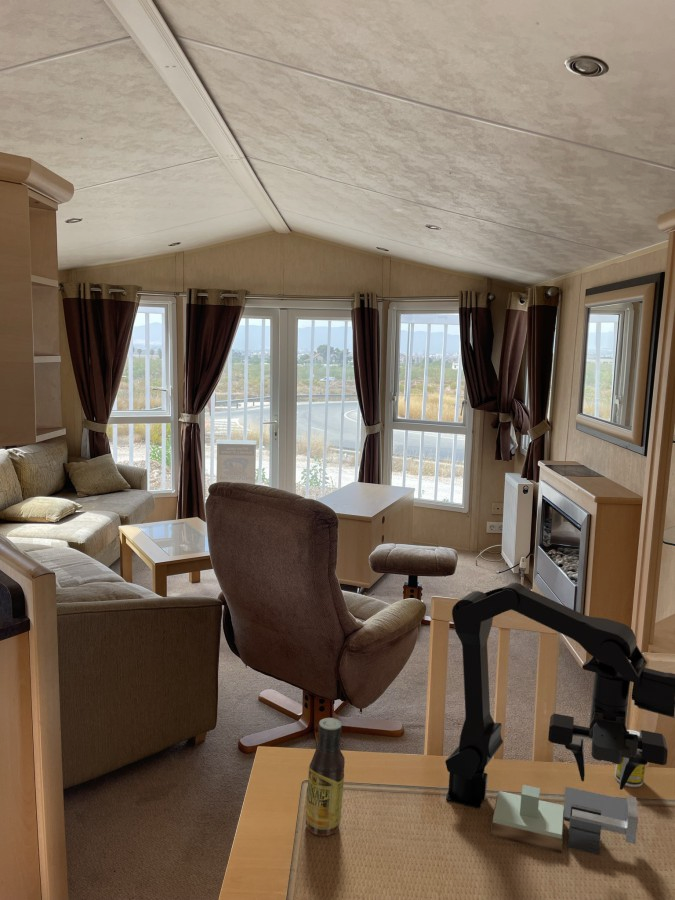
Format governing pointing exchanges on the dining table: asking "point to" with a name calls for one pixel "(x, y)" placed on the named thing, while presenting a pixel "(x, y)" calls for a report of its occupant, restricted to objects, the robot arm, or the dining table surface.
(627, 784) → the supplement bottle
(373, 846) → the dining table surface
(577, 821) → the lock block
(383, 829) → the dining table surface
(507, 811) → the cover
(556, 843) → the case
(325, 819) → the sauce bottle
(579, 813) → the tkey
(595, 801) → the grey flat plate
